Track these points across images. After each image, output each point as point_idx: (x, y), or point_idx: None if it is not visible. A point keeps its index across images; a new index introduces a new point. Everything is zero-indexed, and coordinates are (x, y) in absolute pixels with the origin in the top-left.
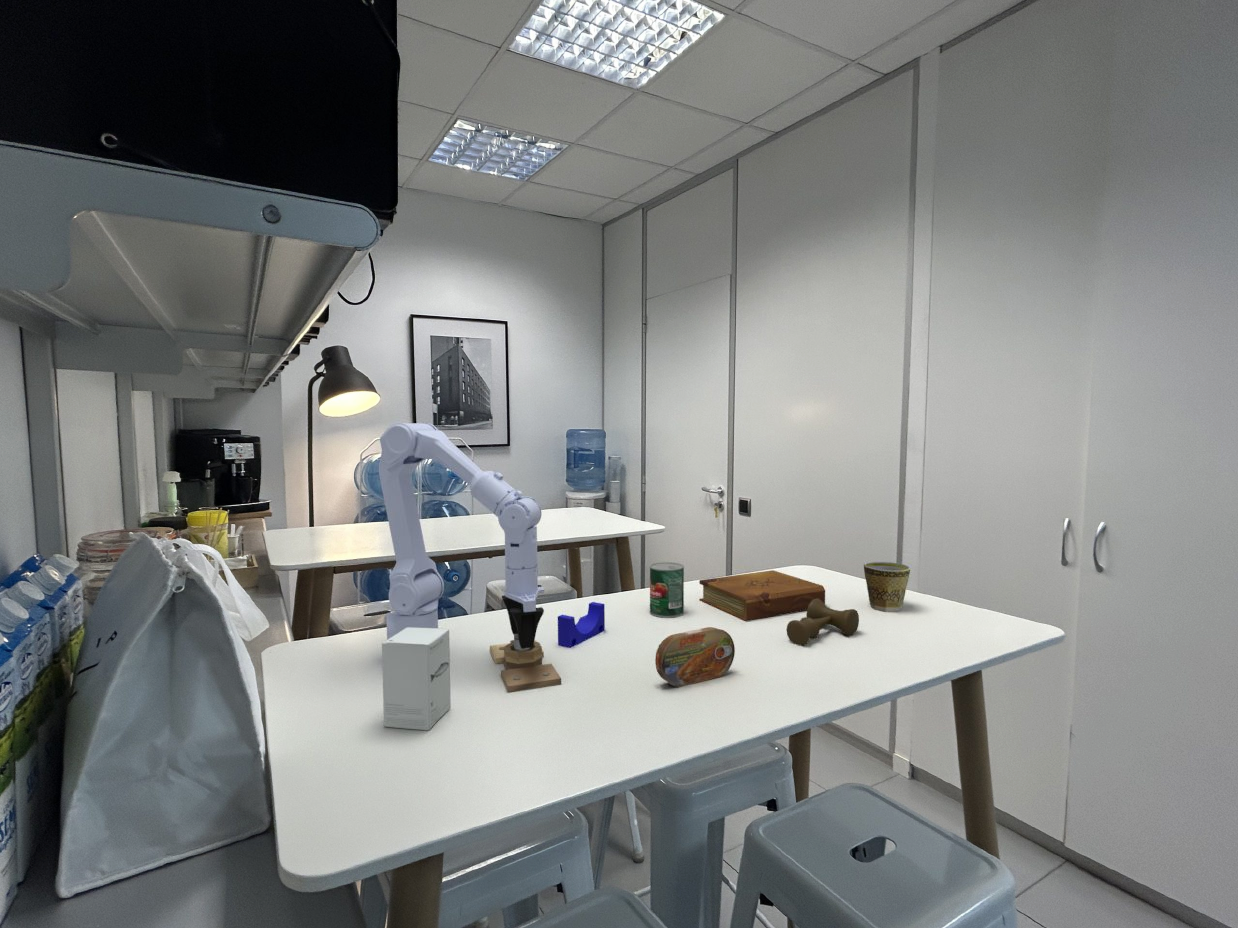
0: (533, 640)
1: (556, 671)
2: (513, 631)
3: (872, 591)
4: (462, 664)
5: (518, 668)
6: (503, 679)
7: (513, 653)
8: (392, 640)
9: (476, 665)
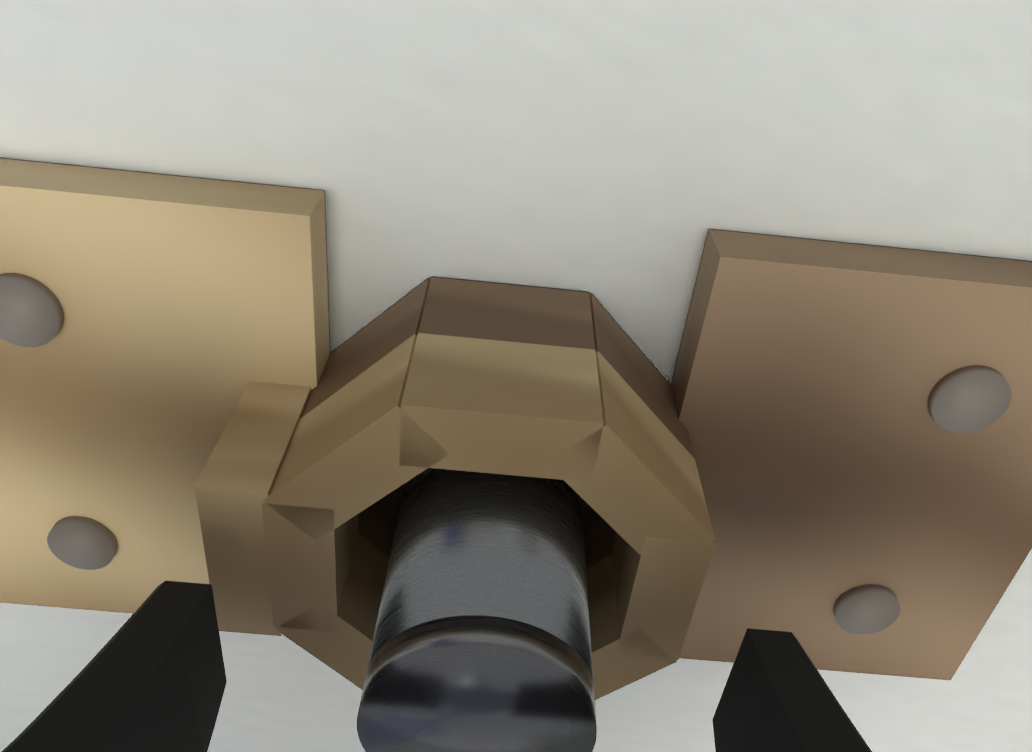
0: (839, 709)
1: (980, 285)
2: (211, 716)
3: None
4: (267, 738)
5: None
6: None
7: (622, 682)
8: None
9: (320, 685)
